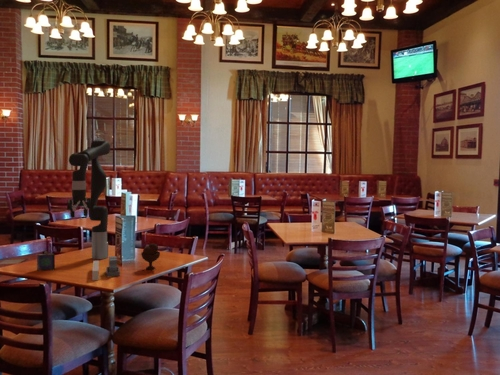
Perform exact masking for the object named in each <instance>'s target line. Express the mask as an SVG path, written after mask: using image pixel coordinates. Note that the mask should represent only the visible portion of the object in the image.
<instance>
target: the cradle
mask: <svg viewBox="0 0 500 375" xmlns="http://www.w3.org/2000/svg"><path fill="white" fill-rule="evenodd" d="M105 268H106V277H107V278H109V277H120V273H121V272H120V266H118V265H117V272H109V266H106V267H105Z"/></svg>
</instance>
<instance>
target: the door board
mask: <svg viewBox="0 0 500 375" xmlns="http://www.w3.org/2000/svg"><path fill="white" fill-rule="evenodd" d="M92 262H93V264H92V277H91V278H92V281H99V276H100V274H99V273H100V260H93V261H92Z"/></svg>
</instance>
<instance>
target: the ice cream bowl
mask: <svg viewBox="0 0 500 375" xmlns="http://www.w3.org/2000/svg"><path fill="white" fill-rule="evenodd" d="M158 250H159V246H158V244H156V243H150V244H149V245H148V246H145V247H144V248H143V249H142V252H141V253H140V255H141V257H142V259H143V260H144V261H145V262H148V266H147V267H146V268H145V270H147V271H154V270H156V267H155V266H153V263H154V262H156V261H157V260H158V259H159V258H160V256H161V252H160V251H158Z"/></svg>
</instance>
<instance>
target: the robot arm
mask: <svg viewBox="0 0 500 375" xmlns="http://www.w3.org/2000/svg"><path fill="white" fill-rule="evenodd" d="M110 151H111V144H110V142H109V141H108V140H102V139H101V140H96V139H95V140H92V142H91V144H90V147H89V148H85V149H84V150H81V151H78V152H74V153H72V154H71V155H70V156H69V157H68V162H69V165H71V166H72V167H79V168H78V169H77V170H73V171H72V176H71V177H72V181H71V182H72V183H71V197H72V199H69V198H68V199H67V202H66V210H68V211H70V215H69V216H70V217H71V218H75V217H76V216H75V214H76V213H75V211H76V209H77V208H78V207H81V208H82V209H83V217H89V219H90V221H92V222H93V221H95V222H97V221H98V222H99V224H97V225H95V226H92V227H91V259H93V260H104V259H108V258H109V242H108V220H109V210H108V207H107V206H102V205H99V206H97V204H98V200H99V197H101V194H102V193H103V192H104V191H105V189H106V186H107V175H106V172H105V170H104V169H103V167H102V166H101V164H100V159H99V157H102V156H106V155H108V154H110ZM89 162H91V169H90V170H91V174H90V197H86V196H87V182H86V173H87V168H88V166H89ZM88 211H89V212H88Z"/></svg>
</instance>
